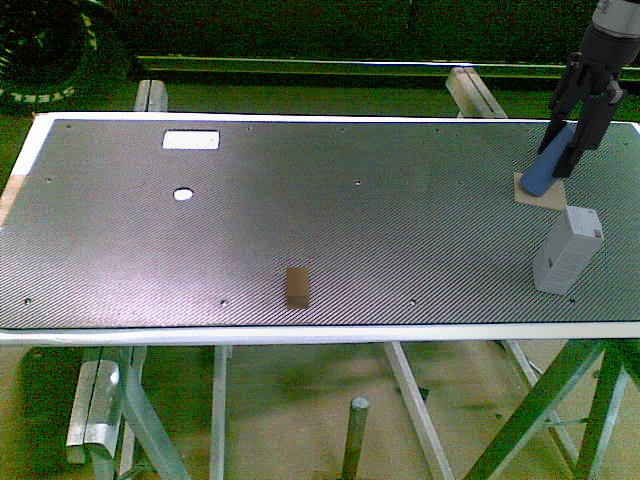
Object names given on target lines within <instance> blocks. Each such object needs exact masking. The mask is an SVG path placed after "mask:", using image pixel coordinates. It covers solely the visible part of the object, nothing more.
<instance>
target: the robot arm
mask: <svg viewBox="0 0 640 480" xmlns="http://www.w3.org/2000/svg"><path fill="white" fill-rule="evenodd" d="M591 21H592V22H591V23H589V24H588V26H587V27H586V30H585V32H584V34H583V36H582V38H581V41H580V43H579V46H578V52H577V51H571V52H570V53H569V54H568V57H567V61H566V64H565V67H564V69H563V72H562V74H561V76H560V77H559V80H558V82H557V84H556V86H555V89H554V91H553V93H552V95H551V97H550V99H549V101H548V103H547V105H546V106H547V107H546V108H547V110H550V113H549V118H550V120H549V122H548V124H547V126H546V129H545V133H544V135H543V137H542V138H541V139H542V140H541V142H540V143H539V146H538V149H537V150H536V154H537V155H538V156H540V154H541V153H542V152H543V151H544V150H545V149H546V147H547V146H548V145H549V144H550V143H551V142H552V140H553V139H554V138H555V137H556V136H557V135H558V134H559V132H560V131H561V130H562V129H563V128H564V127H565V125H566V124H568V123H569V122H568V120H571V119H572V118H571V113H572V112H573V110H574V109H575V108H576V106H577V105H578V104H579V102H580V101H581V102H582V104H581V108H580V112H579V115H578V119H577V123H576V125H575V126H576V129H575V133H574V137H573V140H572V142H567V145H566V147H565V149H564V151H563V153H562V155H561V157H560V159H559V161H558V163H557V165H556V167H555V169H554V171H553V173H552V176H553V178H559V179H569V178H570V176H571V175H572V173H573V171H574V169H575V168H576V166H577V165H578V164H579V163H580V160H581V158H582V157H583V155H584V153H585V151H597V150H598V149H599V147H600V146H601V143H602V141H603V139H604V138H605V135H606V133H607V130H608V128H609V127H610V125H611V123H612V121H613V118H614V117H615V115H616V112H617V111H618V109H619V106H620V105H621V104H622V102H624V100H625V99H626V98H627V96H628V94H629V93H628V92H629V91H628V90H627V89H625V88H624V89H623V88H622V89H621V88H620V85H619V83H618V82H619V81H620V78H621V73H622V70H623V68H625V67H626V66H628V65H630V64H632V63H633V62H634V61H635V60H636V57H637V55H638V54H639V51H640V0H598V2H597V4H596V8H595V10H594V12H593V14H592V17H591Z"/></svg>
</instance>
